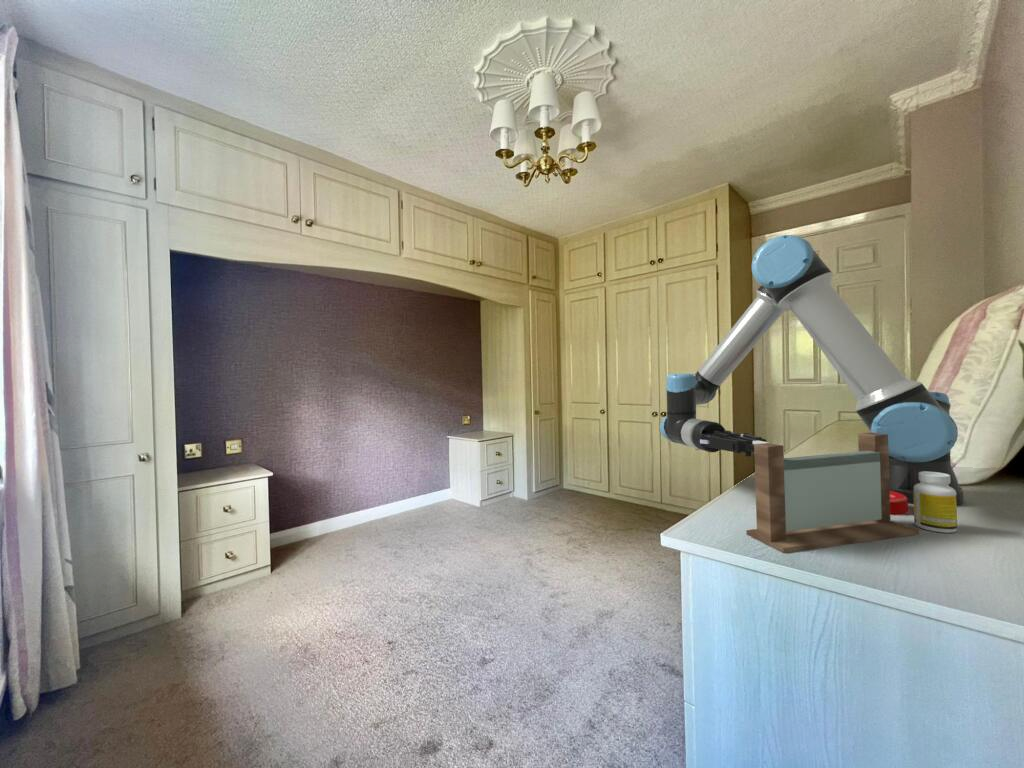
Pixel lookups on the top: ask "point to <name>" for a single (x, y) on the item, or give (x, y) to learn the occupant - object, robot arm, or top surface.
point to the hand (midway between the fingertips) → (780, 452)
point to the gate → (832, 489)
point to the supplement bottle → (935, 503)
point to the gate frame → (776, 536)
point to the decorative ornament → (898, 503)
